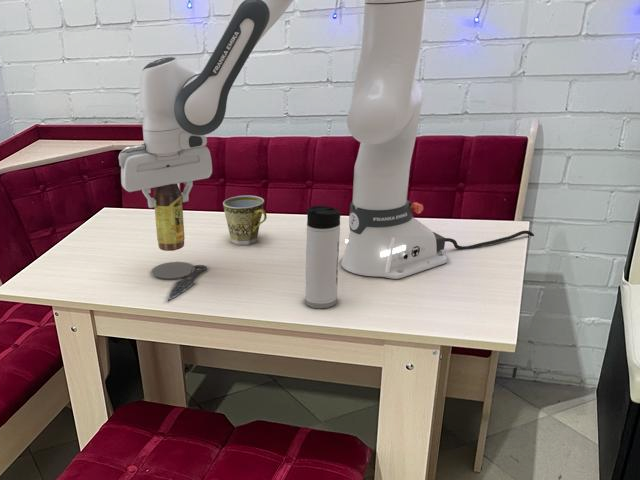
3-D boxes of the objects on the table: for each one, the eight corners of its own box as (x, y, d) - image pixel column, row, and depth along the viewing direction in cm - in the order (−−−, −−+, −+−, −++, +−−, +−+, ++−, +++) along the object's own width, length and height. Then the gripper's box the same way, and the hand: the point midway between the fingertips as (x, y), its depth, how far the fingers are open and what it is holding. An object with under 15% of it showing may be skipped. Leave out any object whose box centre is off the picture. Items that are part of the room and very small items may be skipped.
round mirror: (186, 260, 180) (186, 259, 179) (201, 274, 171) (200, 273, 171) (146, 268, 178) (146, 266, 177) (159, 283, 169) (159, 281, 169)
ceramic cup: (216, 241, 189) (214, 202, 184) (246, 230, 193) (245, 192, 188) (250, 253, 179) (249, 213, 174) (281, 242, 184) (281, 202, 179)
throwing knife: (210, 268, 174) (210, 265, 174) (177, 303, 159) (177, 300, 159) (193, 266, 176) (193, 264, 176) (158, 301, 161) (158, 298, 161)
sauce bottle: (183, 252, 168) (176, 163, 158) (156, 252, 169) (147, 165, 159) (187, 241, 173) (181, 155, 163) (160, 242, 175) (153, 157, 165)
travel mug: (297, 300, 154) (299, 206, 144) (325, 293, 156) (328, 199, 146) (314, 311, 149) (317, 214, 139) (342, 304, 151) (347, 207, 141)
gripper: (121, 151, 155) (128, 216, 162) (213, 136, 159) (216, 199, 166) (113, 145, 160) (120, 208, 167) (203, 130, 164) (205, 192, 171)
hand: (168, 204), depth 166 cm, fingers closed on sauce bottle, 6 cm apart
